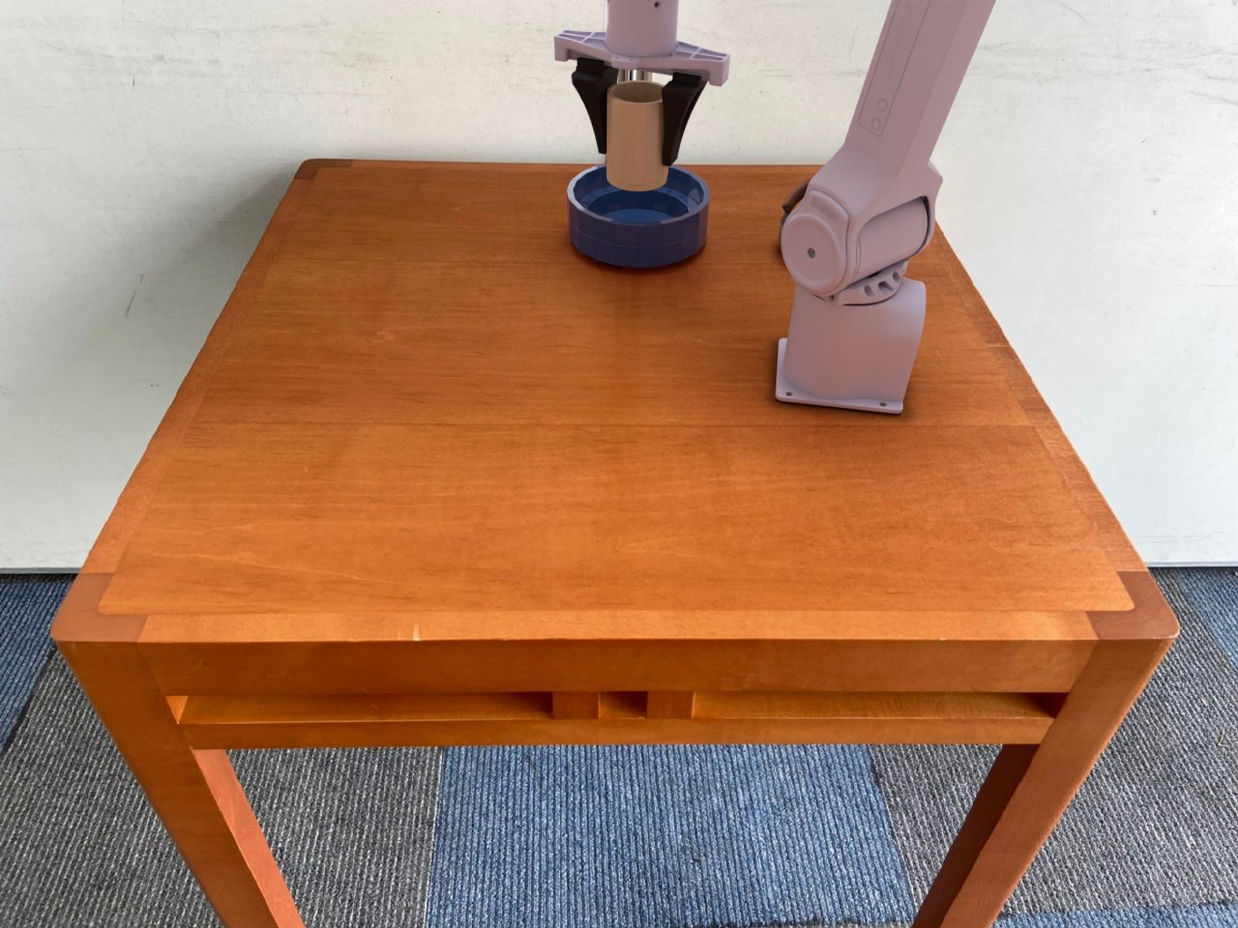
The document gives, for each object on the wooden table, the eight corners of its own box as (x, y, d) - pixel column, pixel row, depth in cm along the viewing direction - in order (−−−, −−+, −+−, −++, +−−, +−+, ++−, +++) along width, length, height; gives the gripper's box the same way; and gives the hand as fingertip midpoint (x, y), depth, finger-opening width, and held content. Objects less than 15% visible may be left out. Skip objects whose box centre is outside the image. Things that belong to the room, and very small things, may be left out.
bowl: (711, 214, 91) (715, 166, 88) (698, 281, 82) (703, 231, 78) (583, 202, 93) (582, 155, 89) (555, 267, 83) (553, 217, 80)
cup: (675, 171, 81) (680, 86, 76) (655, 196, 78) (658, 108, 73) (620, 160, 83) (621, 76, 78) (597, 184, 79) (597, 98, 74)
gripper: (534, -13, 69) (542, 159, 78) (716, 12, 65) (702, 189, 74) (572, -36, 74) (575, 129, 83) (744, -14, 70) (727, 156, 79)
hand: (637, 155), depth 79 cm, fingers closed on cup, 5 cm apart
